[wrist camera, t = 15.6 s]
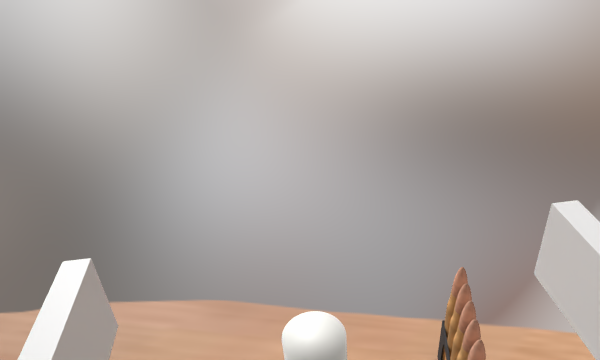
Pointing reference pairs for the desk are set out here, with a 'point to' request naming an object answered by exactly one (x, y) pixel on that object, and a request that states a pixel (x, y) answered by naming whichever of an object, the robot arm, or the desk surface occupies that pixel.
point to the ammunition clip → (460, 325)
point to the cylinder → (314, 337)
